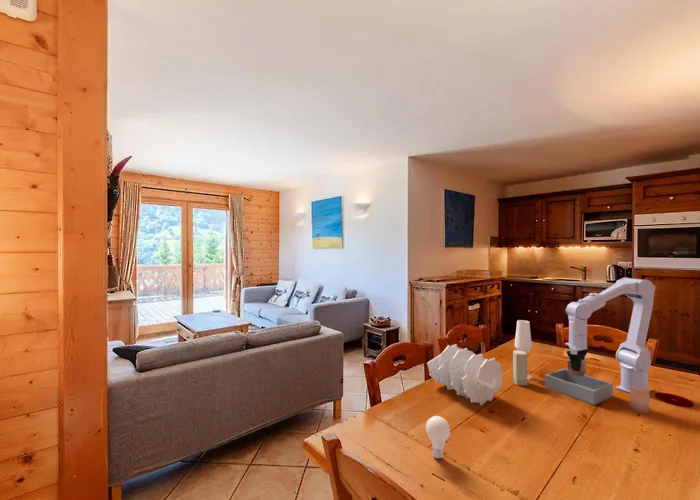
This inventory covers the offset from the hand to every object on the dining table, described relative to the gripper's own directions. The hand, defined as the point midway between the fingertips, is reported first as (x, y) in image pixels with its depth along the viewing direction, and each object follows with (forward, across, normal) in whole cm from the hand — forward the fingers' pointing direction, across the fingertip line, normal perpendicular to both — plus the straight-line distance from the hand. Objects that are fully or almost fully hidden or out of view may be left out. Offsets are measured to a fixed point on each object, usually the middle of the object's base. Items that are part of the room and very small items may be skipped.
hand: (577, 368), depth 128 cm
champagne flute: (+10, -3, -20) cm, 23 cm away
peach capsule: (+10, 0, +18) cm, 21 cm away
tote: (+9, -1, 0) cm, 9 cm away
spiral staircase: (+10, +32, -31) cm, 45 cm away
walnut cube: (+2, 0, 0) cm, 2 cm away
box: (+10, +6, -19) cm, 22 cm away
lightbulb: (+10, +73, -19) cm, 76 cm away
